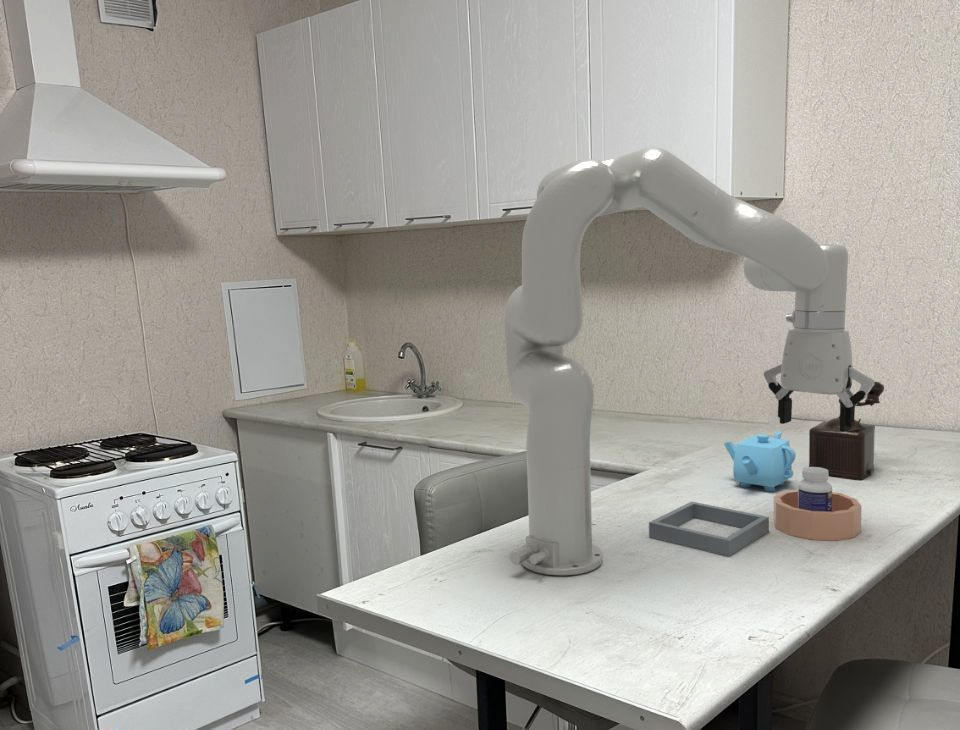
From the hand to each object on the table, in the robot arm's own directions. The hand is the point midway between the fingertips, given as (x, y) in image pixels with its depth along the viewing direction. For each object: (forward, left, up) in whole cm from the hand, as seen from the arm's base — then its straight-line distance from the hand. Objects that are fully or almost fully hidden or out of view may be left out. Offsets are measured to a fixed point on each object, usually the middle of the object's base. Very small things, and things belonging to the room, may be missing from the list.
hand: (814, 426), depth 129 cm
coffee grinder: (+39, +8, -17) cm, 44 cm away
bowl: (+1, 0, -17) cm, 17 cm away
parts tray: (-13, +12, -17) cm, 25 cm away
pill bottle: (0, 0, -17) cm, 16 cm away
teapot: (+19, +18, -17) cm, 31 cm away
